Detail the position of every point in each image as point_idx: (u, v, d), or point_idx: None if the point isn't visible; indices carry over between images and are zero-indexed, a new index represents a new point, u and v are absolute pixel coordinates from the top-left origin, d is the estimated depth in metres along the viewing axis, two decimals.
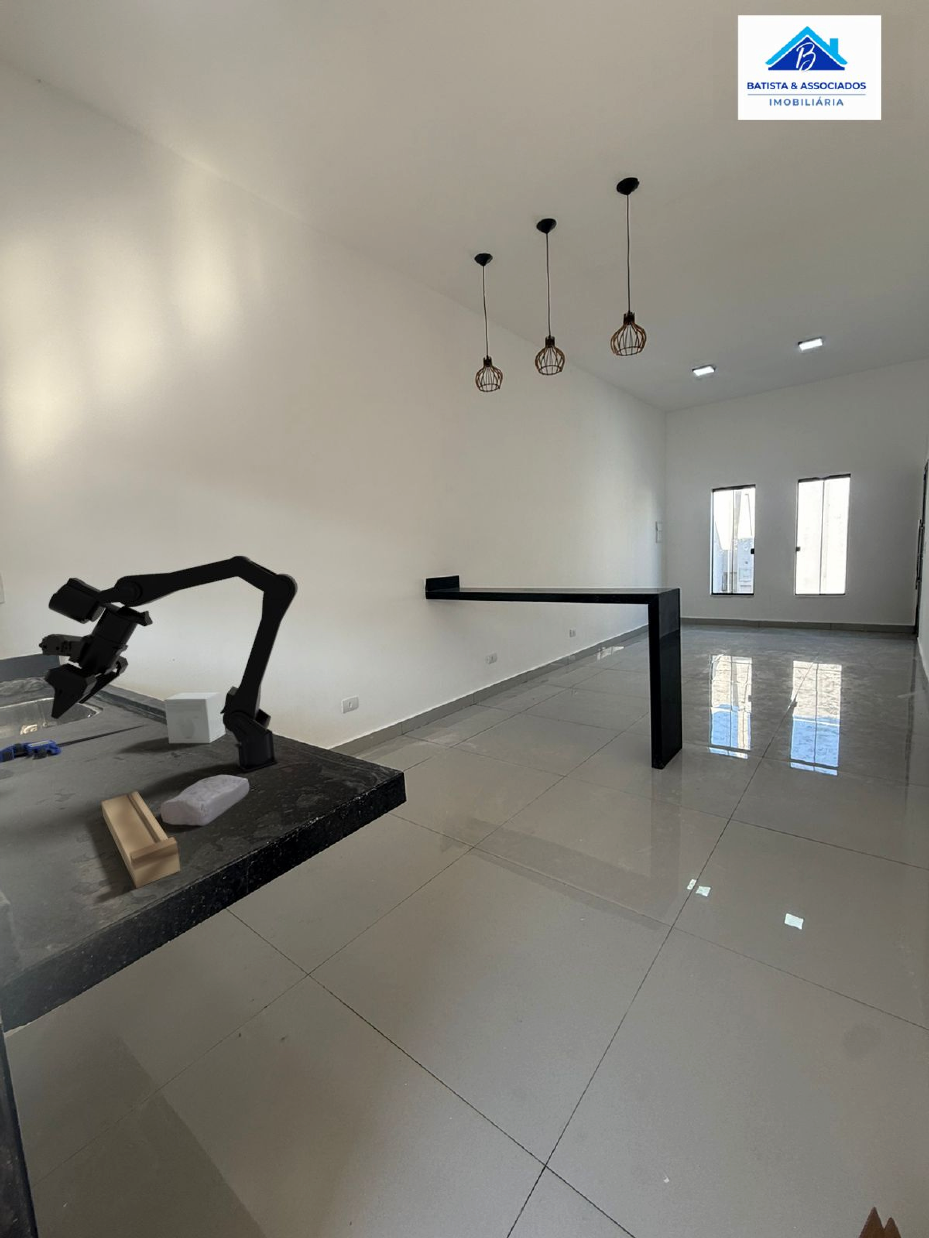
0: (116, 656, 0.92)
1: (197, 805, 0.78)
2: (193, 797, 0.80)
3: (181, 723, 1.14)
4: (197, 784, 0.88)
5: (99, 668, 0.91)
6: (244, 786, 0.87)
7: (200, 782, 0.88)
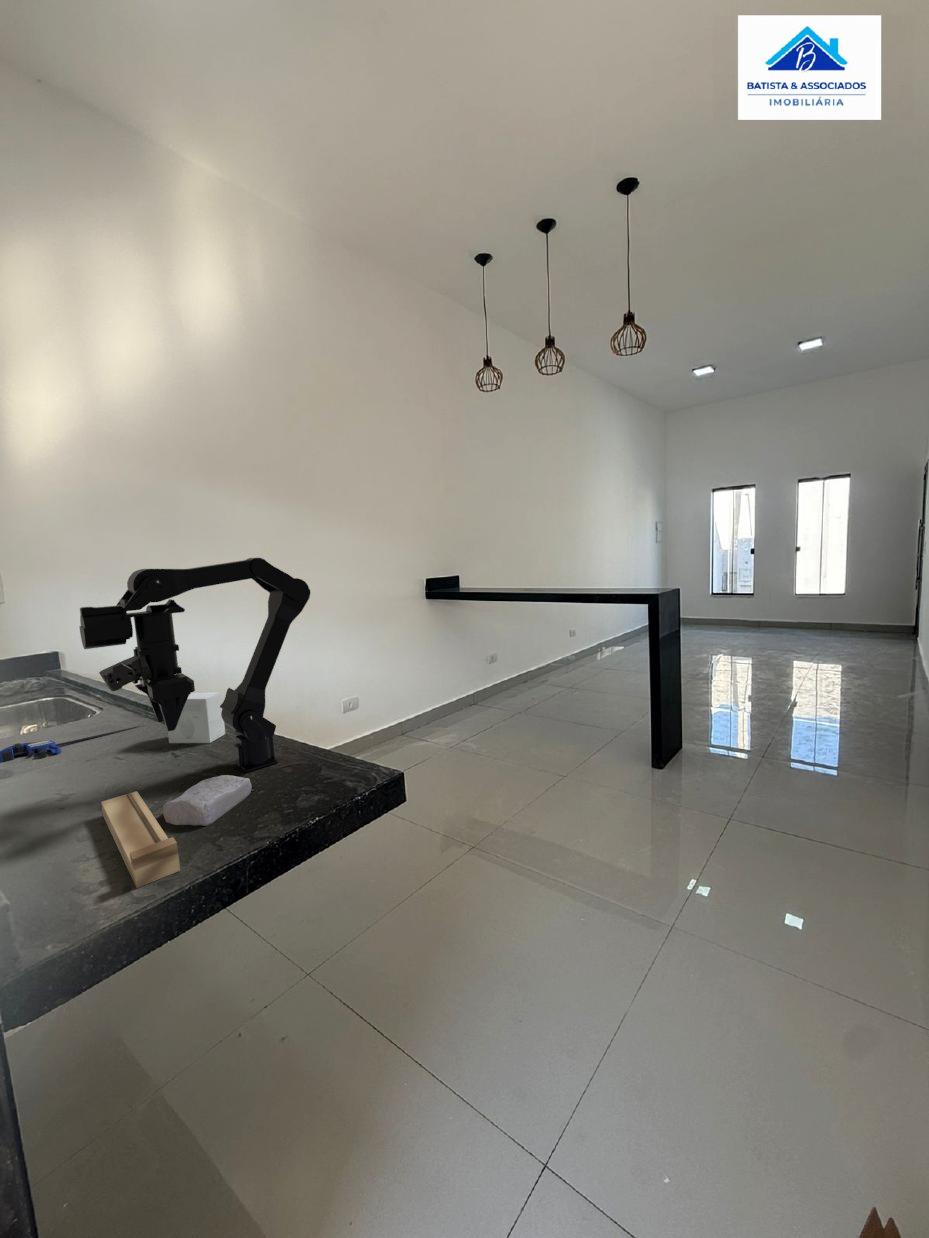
0: (176, 653, 0.90)
1: (200, 805, 0.78)
2: (196, 797, 0.79)
3: (181, 723, 1.14)
4: (199, 784, 0.88)
5: (174, 670, 0.88)
6: (247, 786, 0.87)
7: (202, 782, 0.88)
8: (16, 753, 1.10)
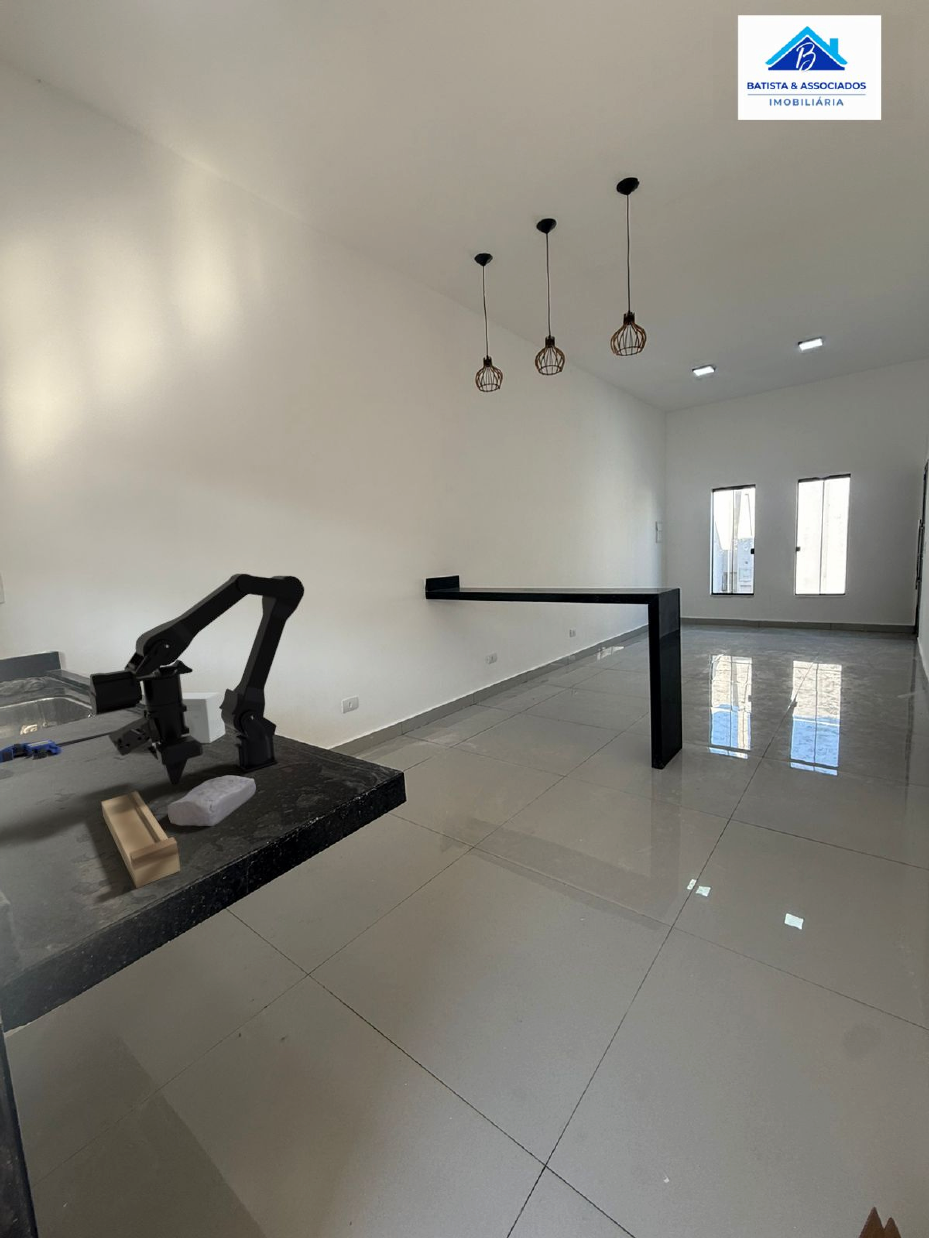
0: None
1: (206, 805, 0.78)
2: (201, 798, 0.79)
3: None
4: (203, 785, 0.87)
5: (182, 731, 0.89)
6: (251, 786, 0.87)
7: (206, 783, 0.88)
8: (16, 753, 1.10)
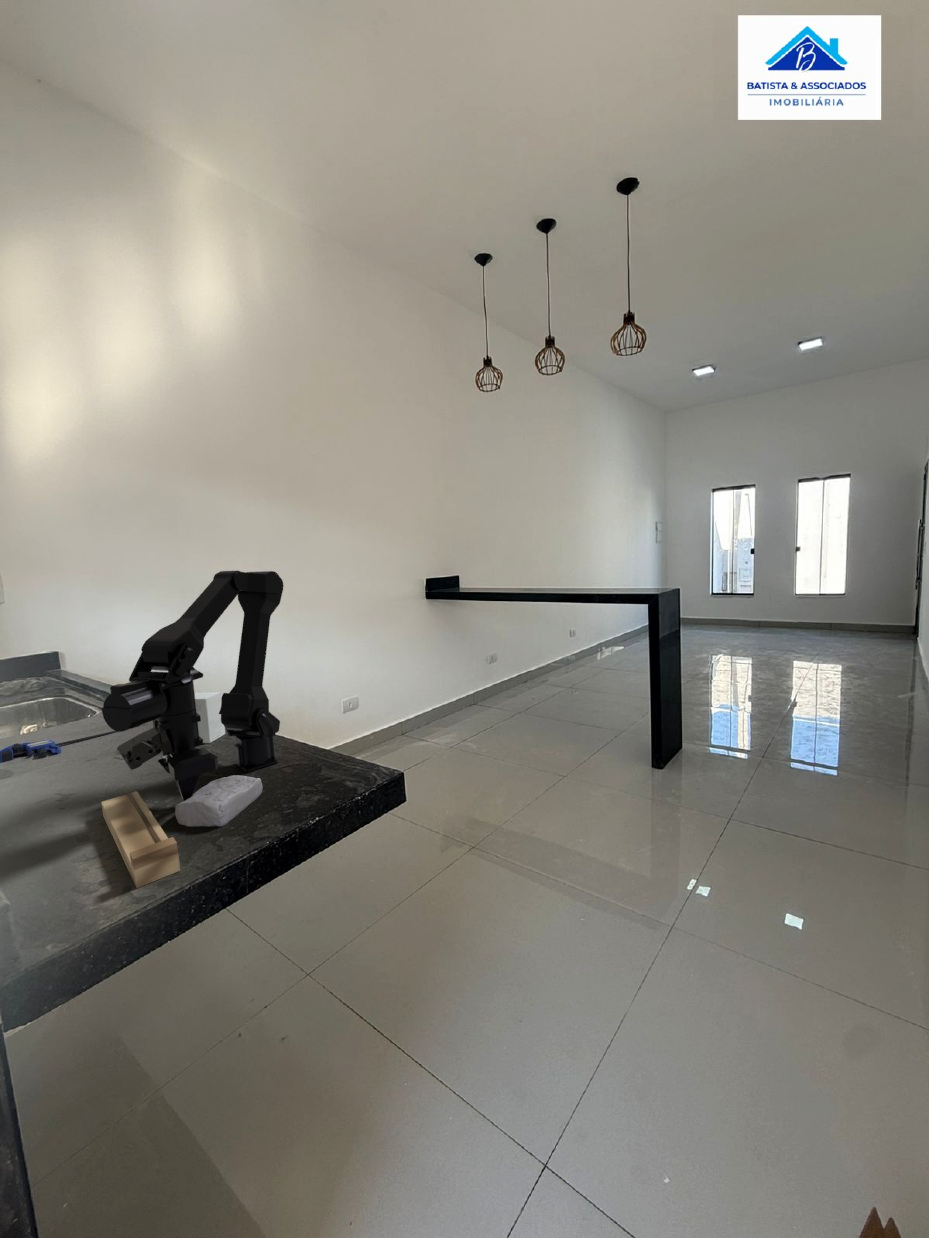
0: (197, 723, 0.85)
1: (215, 805, 0.78)
2: (210, 798, 0.79)
3: None
4: (209, 785, 0.87)
5: (195, 742, 0.83)
6: (258, 786, 0.87)
7: (212, 783, 0.88)
8: (16, 753, 1.10)
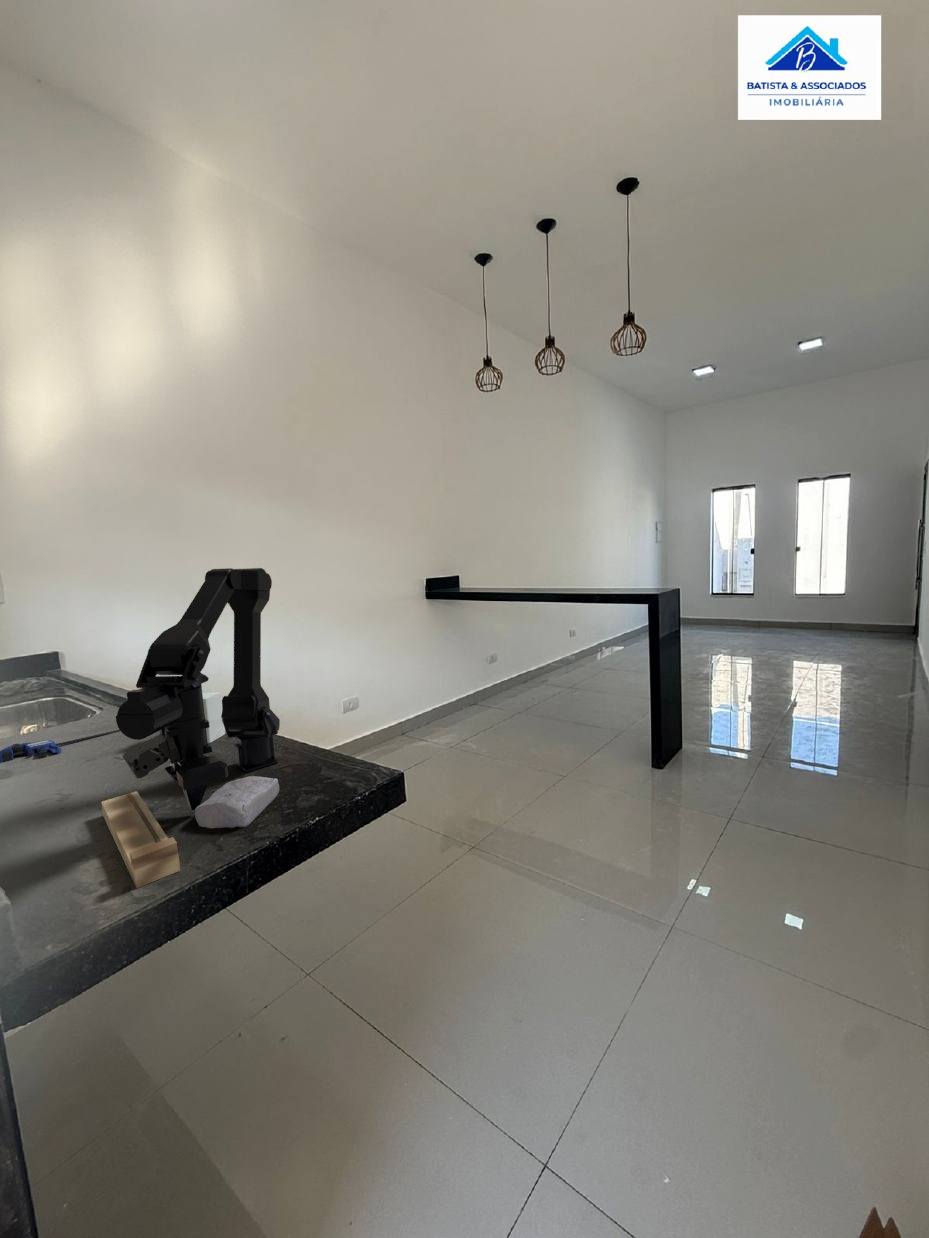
0: None
1: (238, 806, 0.77)
2: (232, 799, 0.78)
3: None
4: (225, 787, 0.86)
5: (204, 749, 0.80)
6: (276, 786, 0.87)
7: (228, 785, 0.87)
8: (15, 753, 1.10)
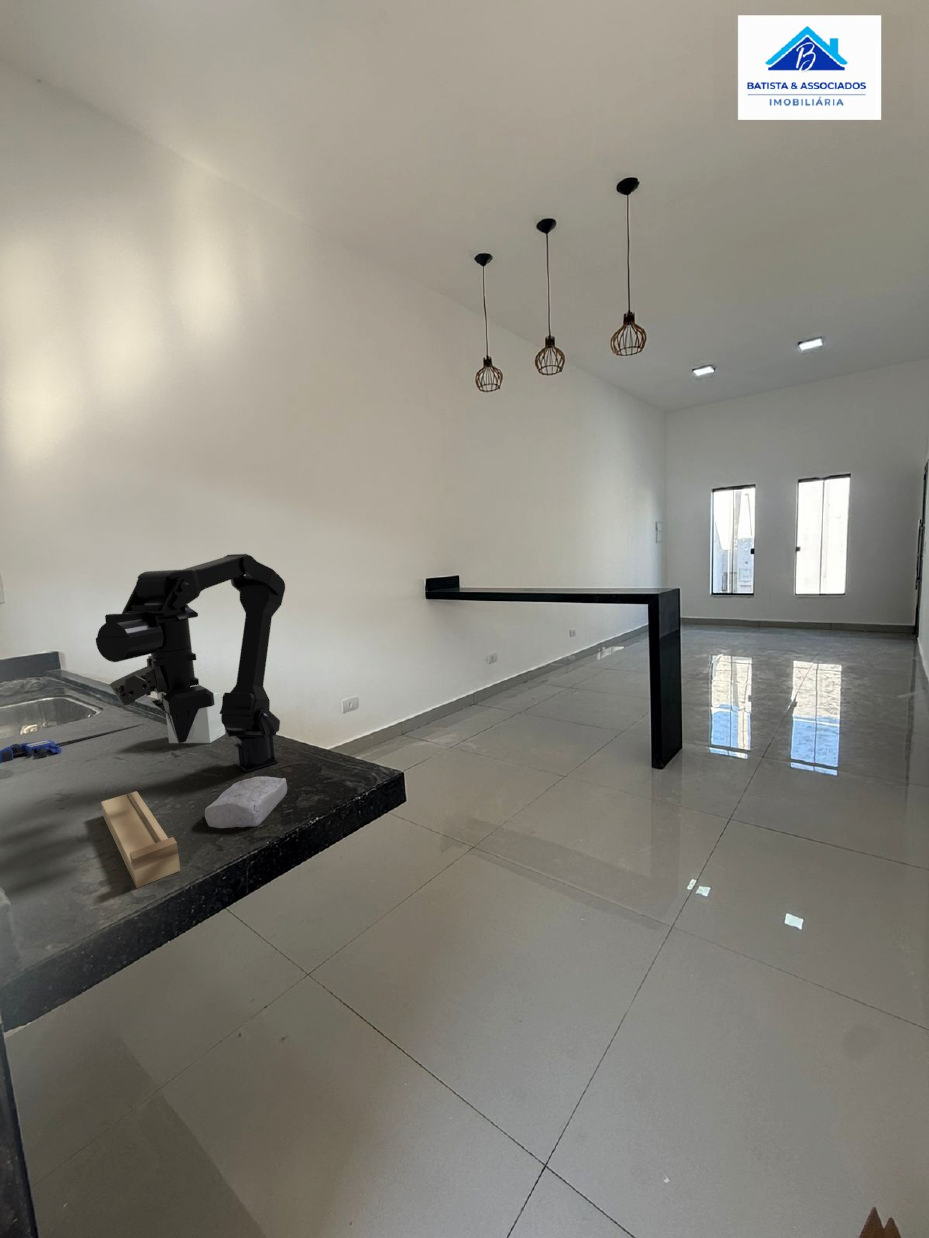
0: None
1: (250, 805, 0.78)
2: (243, 799, 0.78)
3: None
4: (233, 787, 0.86)
5: (190, 682, 0.81)
6: (284, 786, 0.87)
7: (235, 785, 0.87)
8: (15, 753, 1.10)
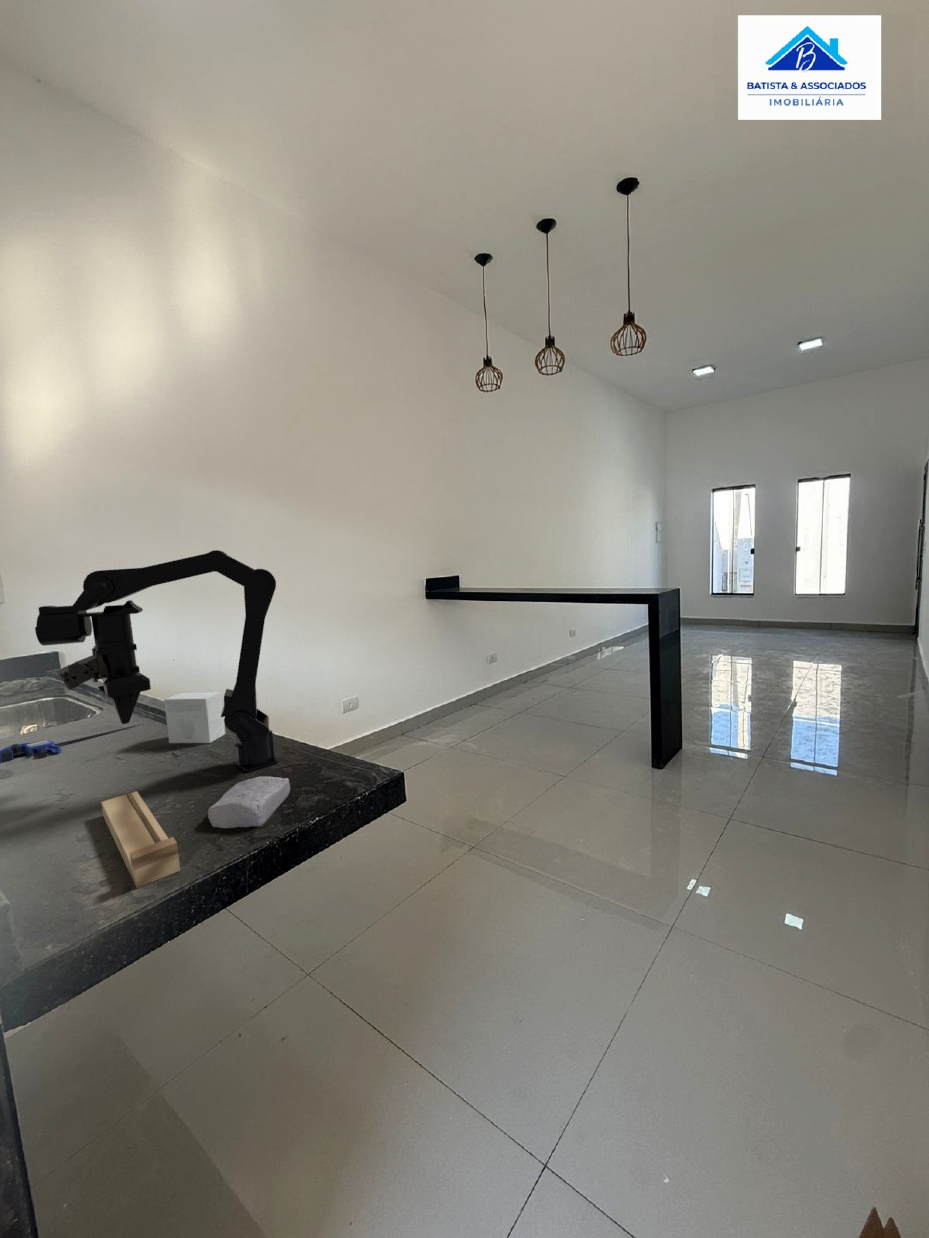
0: (134, 652, 0.92)
1: (253, 805, 0.77)
2: (246, 799, 0.78)
3: (181, 723, 1.14)
4: (236, 787, 0.86)
5: (131, 669, 0.91)
6: (287, 786, 0.87)
7: (238, 785, 0.87)
8: (15, 753, 1.10)
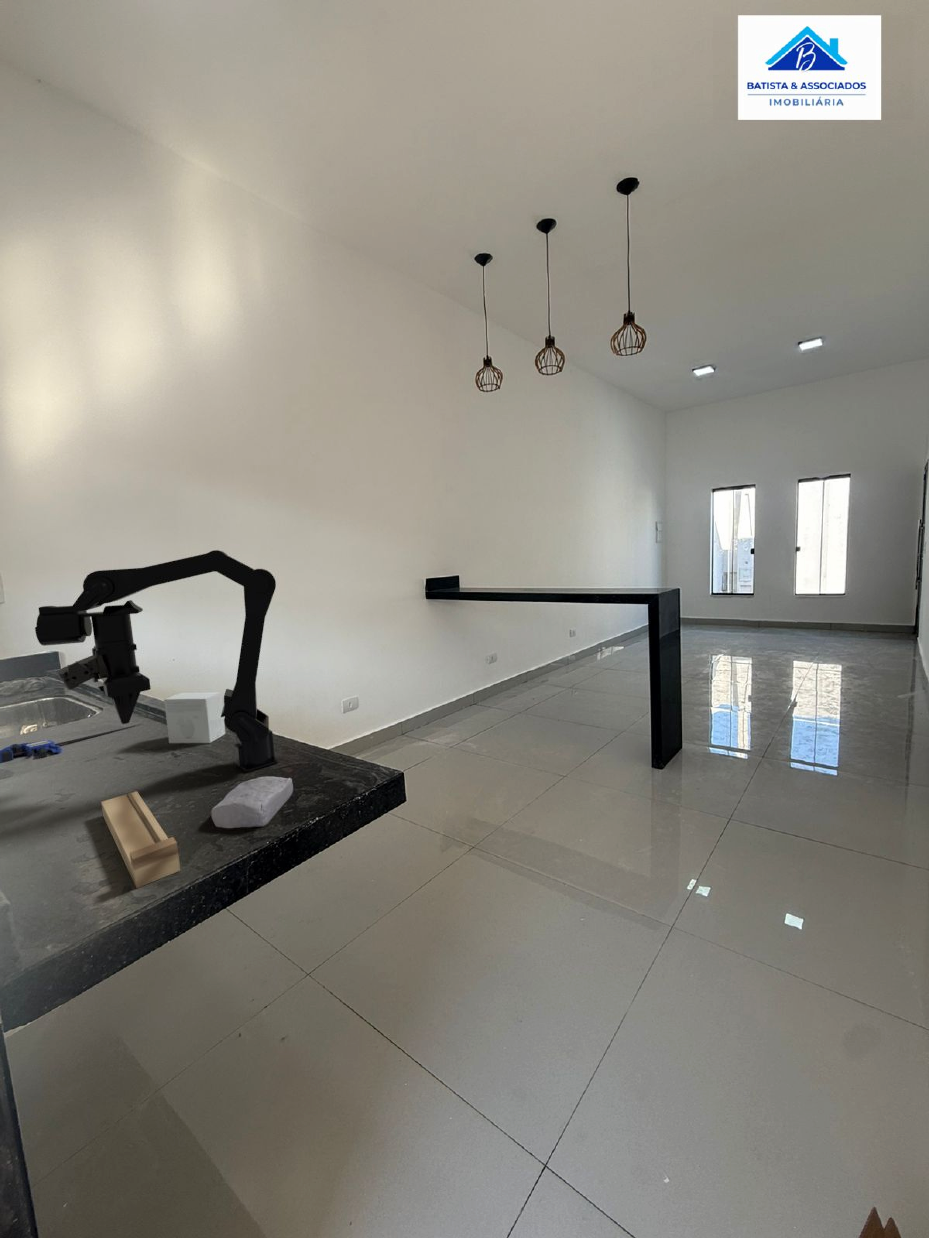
0: (134, 652, 0.92)
1: (257, 805, 0.77)
2: (250, 799, 0.78)
3: (181, 723, 1.14)
4: (239, 787, 0.86)
5: (131, 669, 0.91)
6: (290, 786, 0.87)
7: (241, 785, 0.87)
8: (15, 753, 1.10)
